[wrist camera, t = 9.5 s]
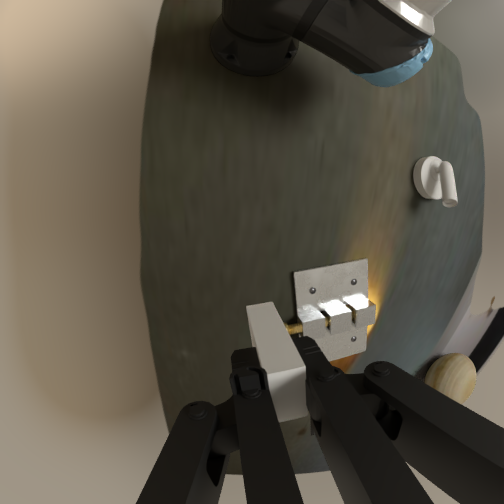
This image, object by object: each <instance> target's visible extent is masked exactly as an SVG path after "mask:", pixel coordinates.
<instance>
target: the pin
mask: <svg viewBox="0 0 504 504" xmlns="http://www.w3.org/2000/svg"><path fill="white" fill-rule="evenodd" d="M352 320H355V311H354V310H352ZM284 325H285V327H286V329H287V331H288V333H289V335H292V334H297V333H301V332H302V324H301V322H300V323H295V324H290V325H287V323H286V322H285V323H284ZM328 326H330V320H329V317H328V316H327V317H325V327H328Z"/></svg>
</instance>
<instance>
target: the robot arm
mask: <svg viewBox="0 0 504 504" xmlns="http://www.w3.org/2000/svg"><path fill="white" fill-rule="evenodd" d="M451 1H452V0H222V14H221V15H220V17H219V18H218V19H217V21H216V22H215V24H214V26H213V28H212V30H211V35H210V45H211V50H212V52H213V54H214V56H215V58H216V59H217V60H218V61H219V62H220V63H221V64H222V65H223V66H225V67H226V68H228V69H230V70H232V71H234V72H236V73H240V74H243V75H249V76H265V75H270V74H274V73H276V72H279V71H281V70H283V69H284V68H285V67H287V66H288V65H289V64H290V63H291V61H292V60H293V58H294V56H295V55H296V53H297V50H298V46H299V41H302V42H303V43H305V44H307V45H309V46H310V47H312V48H314V49H316V50H318V51H320V52H321V53H323V54H325V55H327V56H328V57H330V58H332V59H333V60H335V61H337V62H338V63H340V64H341V65H343V66H345V67H346V68H348V69H349V70H350V72H352V73H353V74H355V75H357V76H360V77H362V78H363V79H365V80H366V81H368V82H370V83H371V84H373V85H375V86H380V87H391V86H394V85H397V84H400V83H402V82H404V81H406V80H407V79H409V78H410V77H412V76H413V75H415V74H416V73H417V72H418V71H419V70H420V69H421V68H422V67H423V63H425V62H427V61H428V60H429V58H430V56H431V54H432V51H433V45H432V42H431V40H430V37H431V36H432V35H433V34H434V33H435V30H434V23H433V17H434V16H435V15H436V14H437V13H438V12H439V11H440V10H441V9H443V8H444V7H445V6H446V5H447V4H448V3H449V2H451ZM246 308H247V315H248V321H249V327H250V333H251V339H252V346H253V347H251V348H245V349H239V350H235V351H234V352H233V354H232V356H231V363H232V373H231V374H230V378H229V380H230V384H231V388H232V392H233V395H232V396H231V398H230V399H228V400H227V401H226V402H224V403H221V404H219V405H216V406H214V405H212V404H211V403H209V402H205V401H196V402H193V403H189V404H188V405H186V406H185V407H183V409H182V410H181V411H180V413H179V415H178V417H177V419H176V421H175V423H174V426H173V428H172V430H171V432H170V434H169V436H168V438H167V440H166V442H165V444H164V446H163V449H162V451H161V453H160V455H159V457H158V459H157V461H156V463H155V465H154V467H153V469H152V471H151V474H150V475H149V478H148V480H147V482H146V484H145V486H144V488H143V490H142V492H141V494H140V496H139V498H138V500H137V502H136V504H218V501H219V497H220V494H221V490H222V486H223V482H224V478H225V474H226V470H227V466H228V462H229V457H230V453H231V452H234V451H236V450H239V449H240V456H241V464H242V472H243V478H244V486H245V493H246V500H247V504H304V503H303V500H302V497H301V493H300V490H299V487H298V484H297V481H296V478H295V474H294V471H293V468H292V465H291V461H290V458H289V455H288V451H287V448H286V445H285V441H284V438H283V435H282V431H281V428H280V425H279V422H283V421H287V420H292V419H296V418H300V417H304V416H308V413H307V408H308V411H309V413H310V415H311V435H314V433H315V435H316V437H317V440H318V442H319V445H320V447H321V449H322V452H323V454H324V456H325V459H326V461H327V464H328V466H329V468H330V471H331V473H332V475H333V478H334V480H335V482H336V485H337V487H338V489H339V492H340V494H341V496H342V499H343V501H344V503H345V504H434V503H433V502H432V500H431V499H430V497H429V496H428V494H427V493H426V491H425V490H424V488H423V487H422V485H421V484H420V483H419V481H418V480H417V478H416V477H415V475H414V474H413V472H412V471H411V469H410V468H409V466H408V465H407V463H408V464H409V465H411V466H412V467H413V468H414V469H416V470H417V471H418V472H419V473H421V474H422V475H423V476H424V477H426V478H427V479H428V480H429V481H431V482H432V483H433V484H435V485H436V486H437V487H438V488H440V489H441V490H442V491H444V492H445V493H447V494H448V495H449V496H450V497H452V498H453V499H455V500H456V501H457V502H459V503H460V504H504V428H502V427H500V426H498V425H496V424H495V423H493V422H491V421H489V420H488V419H486V418H484V417H482V416H481V415H479V414H477V413H475V412H474V411H472V410H470V409H468V408H467V407H464V406H463V405H461V404H460V403H458V402H456V401H454V400H453V399H451V398H449V397H448V396H446V395H444V394H442V393H441V392H439V391H437V390H436V389H434V388H432V387H430V386H429V385H427V384H425V383H424V382H422V381H420V380H419V379H417V378H415V377H414V376H412V375H410V374H409V373H407V372H405V371H404V370H402V369H400V368H399V367H397V366H395V365H394V364H392V363H389V362H385V361H377V362H373V363H371V364H369V365H368V366H366V368H365V370H364V373H361V374H344V372H343V371H342V370H341V369H339V368H337V367H334V366H332V365H331V364H330V362H329V361H328V359H327V358H326V356H325V355H324V353H323V352H322V351H321V349H320V347H318V344H317V343H316V341H315V340H314V339H312V338H310V337H308V336H303V337H299V338H294V339H291V337H290V335H289V333H288V331H287V329H286V327H285V325H284V323H283V321H282V320H281V318H280V316H279V314H278V312H277V310H276V308H275V306H274V304H273V302H267V303H262V304H256V305H250V306H246ZM405 461H406V462H407V463H406V462H405Z"/></svg>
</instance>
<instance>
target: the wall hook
mask: <svg viewBox="0 0 504 504" xmlns="http://www.w3.org/2000/svg"><path fill="white" fill-rule="evenodd" d="M413 179H414V184H415V187H416V189H417V191H418V192H419V194H420V195H421V196H423V197H424V198H427V199H440V198H442V201H443V205H444V206H446V207H454V206H456V205H457V203H458V202H457V194H456V187H455V180H454V174H453V169H452V166H451V164H450V163H449V162H447V161H443V162H442V161H441V160H440V159H439V158H437V157H434V156H430V157H423V158H421V159H419V160H418V161H417V162H416V164H415V167H414V171H413Z"/></svg>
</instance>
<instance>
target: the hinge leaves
mask: <svg viewBox="0 0 504 504" xmlns="http://www.w3.org/2000/svg"><path fill="white" fill-rule="evenodd" d="M293 279H294V290H295V301H296V312H297V323H300V322H301V324H302V332H301V333H298V337H303V336H308V337H310V338H312V339H314V340H315V341H316V343H317V344H318V347H320V349H321V351H322V352H323V353H324V355H325V356H326V358H327V359H328V361H332V360H336V359H340V358H343V357H347V356H350V355H353V354H357V353H360V352H363V351H366V340H367V326H368V325H371V324H374V323H375V310H376V305H375V304H374V303H372V302H371V301H370V300H368V259H367V258H362V259H357V260H351V261H346V262H341V263H336V264H330V265H325V266H319V267H314V268H308V269H303V270H297V271H293ZM345 305H348V308H347V307H346V306H345ZM352 310H354V311H355V320H352ZM320 311H323V315H322V313H321V312H320ZM327 316H328V317H329V320H330V326H328V327H325V317H327Z"/></svg>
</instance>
